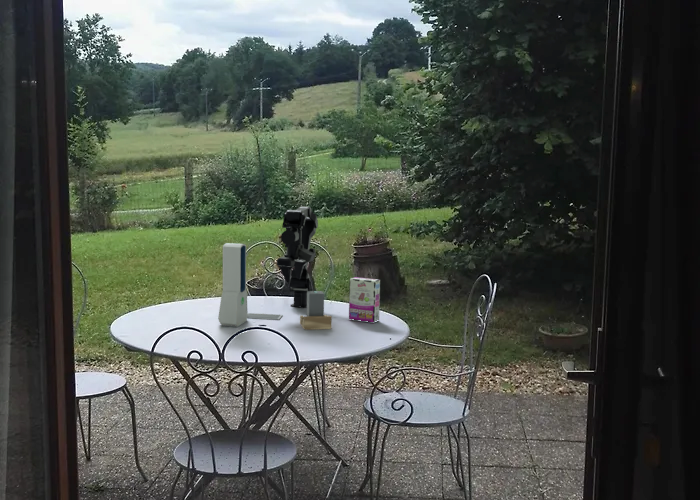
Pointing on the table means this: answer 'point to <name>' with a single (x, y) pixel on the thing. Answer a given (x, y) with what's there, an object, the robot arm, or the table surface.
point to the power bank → (315, 303)
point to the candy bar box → (364, 299)
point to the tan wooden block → (315, 322)
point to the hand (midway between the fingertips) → (293, 280)
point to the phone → (264, 316)
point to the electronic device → (233, 286)
